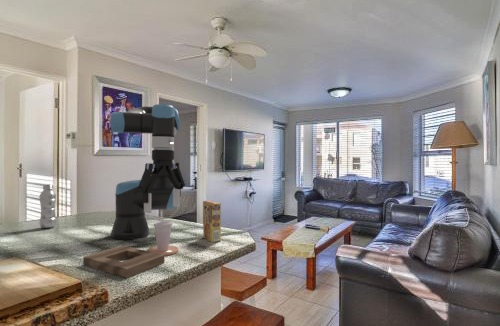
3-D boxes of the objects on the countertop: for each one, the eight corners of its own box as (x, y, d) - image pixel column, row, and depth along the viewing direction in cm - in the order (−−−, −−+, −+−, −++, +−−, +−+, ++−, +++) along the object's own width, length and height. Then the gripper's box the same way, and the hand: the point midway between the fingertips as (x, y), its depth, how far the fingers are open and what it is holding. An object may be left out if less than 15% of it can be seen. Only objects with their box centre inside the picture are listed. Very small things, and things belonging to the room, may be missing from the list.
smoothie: (155, 247, 110) (156, 208, 110) (173, 246, 110) (173, 208, 110) (151, 252, 103) (151, 211, 103) (170, 252, 104) (170, 211, 104)
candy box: (221, 241, 121) (221, 203, 121) (211, 242, 118) (212, 203, 118) (211, 236, 128) (211, 200, 128) (202, 237, 126) (202, 200, 126)
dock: (83, 264, 93) (83, 256, 93) (122, 252, 105) (122, 245, 105) (126, 278, 83) (126, 268, 83) (164, 262, 95) (164, 255, 95)
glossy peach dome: (139, 253, 105) (139, 251, 105) (162, 245, 114) (162, 243, 114) (162, 258, 99) (162, 256, 99) (185, 250, 109) (185, 248, 109)
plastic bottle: (59, 227, 141) (59, 184, 141) (43, 230, 135) (43, 185, 135) (52, 225, 145) (52, 184, 144) (36, 228, 139) (36, 185, 138)
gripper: (141, 148, 93) (141, 216, 94) (194, 149, 115) (194, 205, 116) (125, 148, 97) (125, 214, 98) (179, 149, 119) (179, 203, 119)
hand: (162, 209), depth 107 cm, fingers open, 13 cm apart
